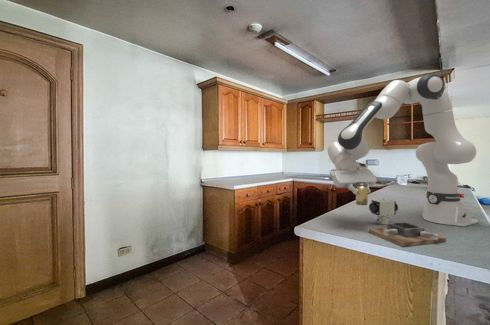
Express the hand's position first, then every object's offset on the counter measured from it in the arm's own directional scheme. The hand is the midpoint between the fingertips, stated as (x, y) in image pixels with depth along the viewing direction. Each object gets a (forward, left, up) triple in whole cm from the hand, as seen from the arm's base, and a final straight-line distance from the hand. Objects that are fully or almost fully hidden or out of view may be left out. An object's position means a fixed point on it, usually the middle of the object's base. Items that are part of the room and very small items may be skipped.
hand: (362, 193), depth 99 cm
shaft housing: (-10, +11, -16) cm, 22 cm away
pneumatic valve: (-16, -6, -16) cm, 24 cm away
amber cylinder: (0, -1, -5) cm, 5 cm away
